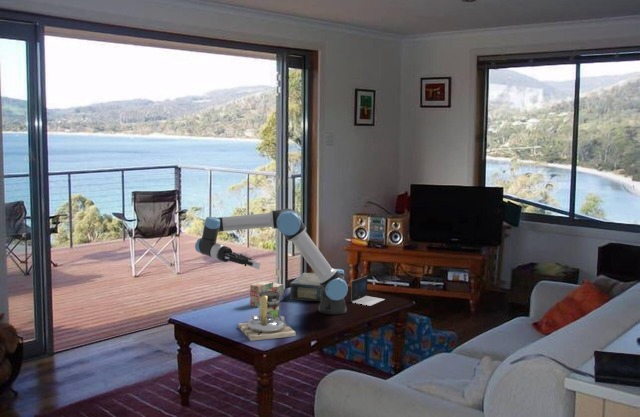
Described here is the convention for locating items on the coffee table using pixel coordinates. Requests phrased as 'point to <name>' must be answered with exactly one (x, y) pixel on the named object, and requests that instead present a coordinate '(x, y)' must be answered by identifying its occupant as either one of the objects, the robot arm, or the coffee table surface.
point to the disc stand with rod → (266, 320)
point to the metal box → (306, 288)
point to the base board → (261, 336)
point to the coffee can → (271, 302)
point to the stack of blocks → (263, 287)
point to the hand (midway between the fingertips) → (259, 266)
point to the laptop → (362, 293)
